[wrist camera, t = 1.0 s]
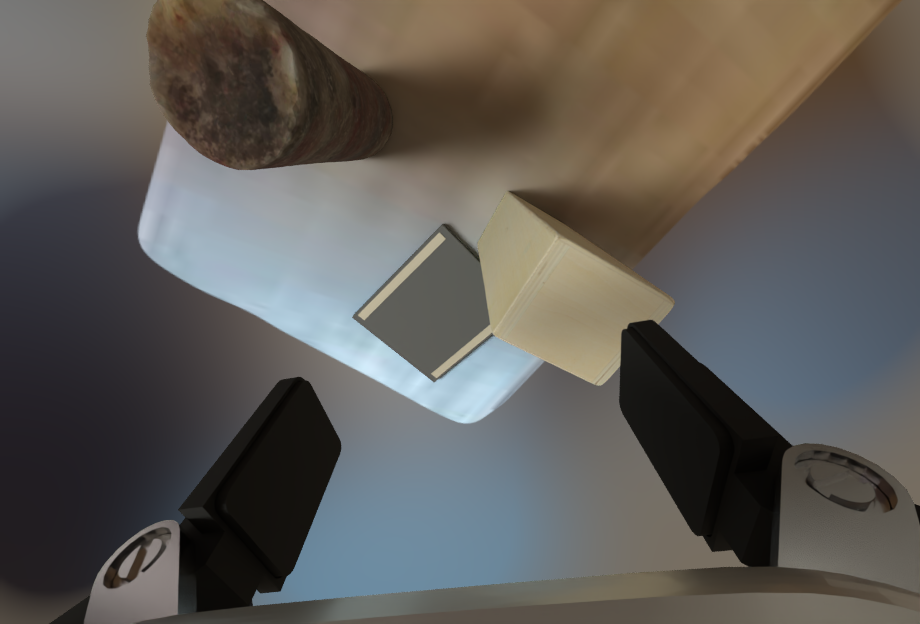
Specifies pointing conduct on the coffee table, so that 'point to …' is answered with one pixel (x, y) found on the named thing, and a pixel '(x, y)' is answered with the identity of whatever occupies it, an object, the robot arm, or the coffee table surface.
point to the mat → (431, 306)
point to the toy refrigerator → (560, 291)
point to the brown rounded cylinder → (259, 87)
